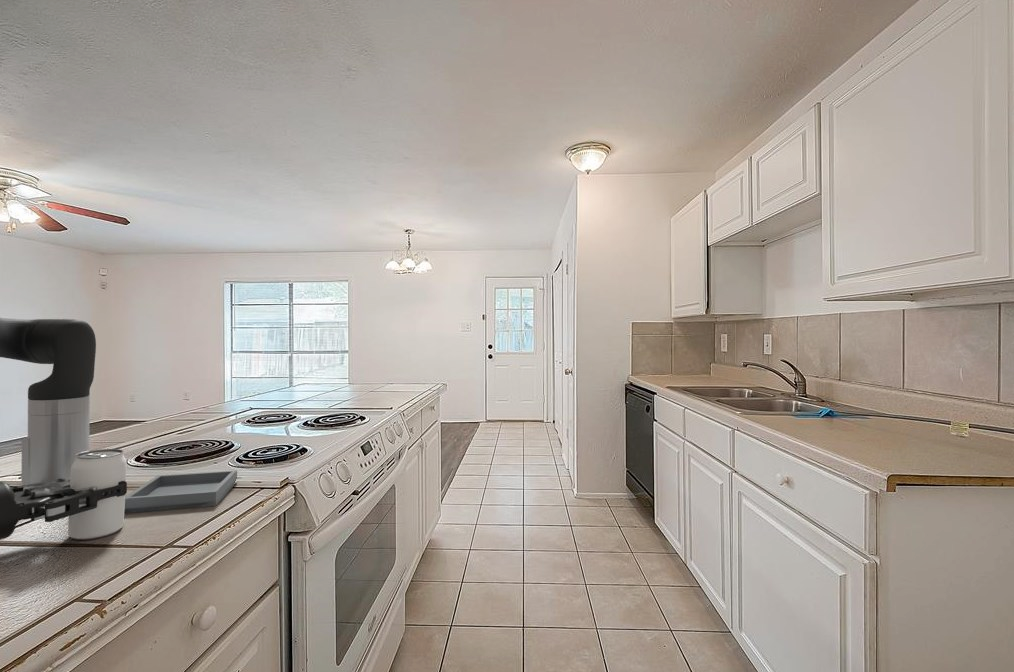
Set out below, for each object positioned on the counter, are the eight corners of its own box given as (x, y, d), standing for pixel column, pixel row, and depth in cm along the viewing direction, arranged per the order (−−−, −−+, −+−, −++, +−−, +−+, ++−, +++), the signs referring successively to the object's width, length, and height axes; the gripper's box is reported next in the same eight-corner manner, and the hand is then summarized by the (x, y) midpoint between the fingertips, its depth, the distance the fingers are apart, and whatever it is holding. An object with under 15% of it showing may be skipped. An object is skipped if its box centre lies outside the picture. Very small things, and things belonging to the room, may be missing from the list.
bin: (122, 513, 80) (122, 498, 80) (157, 488, 94) (157, 475, 94) (215, 505, 84) (216, 491, 84) (237, 482, 98) (237, 470, 98)
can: (90, 543, 69) (94, 460, 69) (55, 537, 70) (59, 456, 70) (134, 526, 75) (137, 450, 75) (101, 521, 76) (104, 446, 76)
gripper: (-25, 500, 57) (139, 466, 72) (-62, 482, 64) (94, 454, 78) (-25, 563, 57) (139, 516, 72) (-62, 538, 64) (94, 499, 78)
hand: (115, 484), depth 75 cm, fingers closed on can, 5 cm apart
